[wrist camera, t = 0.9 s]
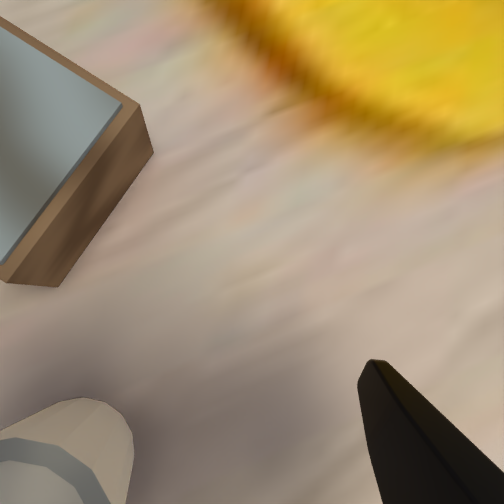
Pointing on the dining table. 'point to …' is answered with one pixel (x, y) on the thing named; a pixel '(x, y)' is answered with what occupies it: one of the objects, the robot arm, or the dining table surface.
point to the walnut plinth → (58, 157)
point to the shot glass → (67, 456)
